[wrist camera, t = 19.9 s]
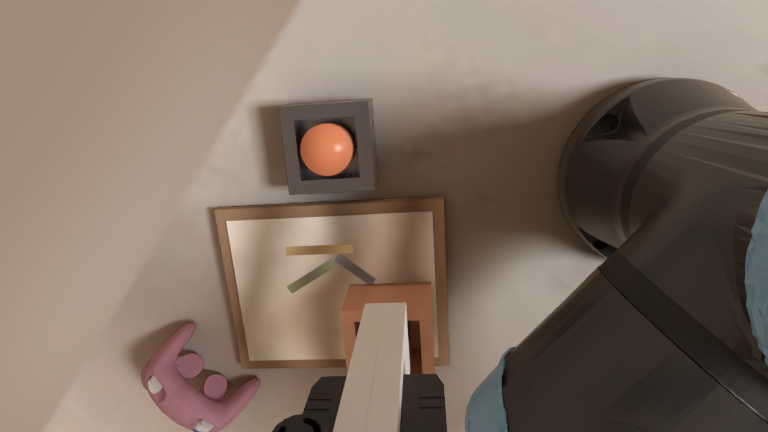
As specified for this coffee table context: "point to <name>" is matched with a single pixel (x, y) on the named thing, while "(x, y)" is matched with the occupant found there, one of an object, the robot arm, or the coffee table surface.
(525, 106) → the coffee table surface
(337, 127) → the button
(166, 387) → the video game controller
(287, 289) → the board
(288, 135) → the button housing
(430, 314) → the pen cup
